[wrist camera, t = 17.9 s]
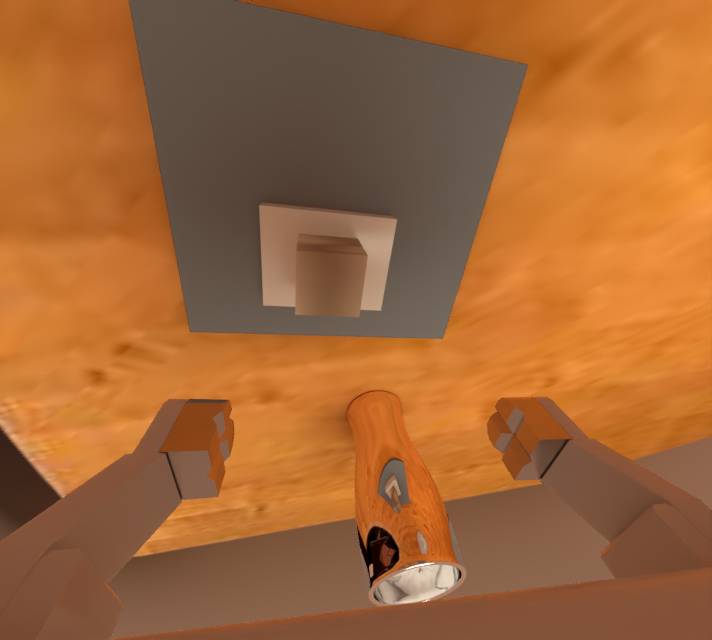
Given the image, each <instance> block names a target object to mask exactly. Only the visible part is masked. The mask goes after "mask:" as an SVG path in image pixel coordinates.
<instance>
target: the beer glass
mask: <svg viewBox="0 0 712 640" xmlns="http://www.w3.org/2000/svg"><path fill="white" fill-rule="evenodd" d="M347 419H348V422H349V425H350V427H351V430H352V432H353V436H354V440H355V448H356V463H355V515H356V525H357V532H358V539H359V545H360V551H361V556H362V562H363V567H364V571H365V576H366V581H367V586H368V592H369V599H370V600H371V602H373V603H374V604H376V605H378V606H390V605H398V604H407V603H415V602H423V601H431V600H436V599H438V598H440V597H442V596H445V595H446V594H448V593H450V592H452V591H453V590H455V589H456V588H457V587H458V586H460V585H461V584H462V583H463V581H464V580H465V578H466V570H465V568H464V565H463V563H462V559H461V556H460V552H459V549H458V545H457V542H456V539H455V535H454V532H453V529H452V526H451V523H450V520H449V517H448V514H447V511H446V509H445V506H444V503H443V500H442V498H441V496H440V493H439V491H438V488H437V486H436V484H435V482H434V480H433V478H432V476H431V474H430V472H429V471H428V469H427V467H426V465H425V464H424V462H423V460H422V458H421V457H420V455H419V453H418V452H417V450H416V448H415V446H414V445H413V443H412V441H411V439H410V437H409V435H408V433H407V431H406V428H405V425H404V419H403V410H402V405H401V402H400V400H399V399H398V398H397V397H396V396H395V395H393V394H391V393H389V392H385V391H373V392H368V393H365V394H363V395H361V396H359V397H358V398H356V399H355V400H354V401H353V402H352V403H351V405H350V406H349V408H348V411H347Z"/></svg>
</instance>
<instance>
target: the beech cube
mask: <svg viewBox="0 0 712 640" xmlns="http://www.w3.org/2000/svg"><path fill="white" fill-rule="evenodd" d="M367 259H368V255H367V253H366V252H365V250H364V248H363V246H362V245H361V243H360V241H359V239H357V238H346V237H334V236H323V235H311V234H300V233H299V236H298V242H297V249H296V294H295V315H312V316H338V317H359V316H360V309H361V302H362V295H363V287H364V280H365V273H366V266H367Z"/></svg>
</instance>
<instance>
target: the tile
mask: <svg viewBox="0 0 712 640" xmlns="http://www.w3.org/2000/svg"><path fill="white" fill-rule="evenodd" d="M259 213H260V238H261V263H262V288H263V305H264V306H286V307H295V294H296V249H297V242H298V236H299V233H300V234H311V235H323V236H334V237H346V238H357V239H359V241H360V243H361V245H362V246H363V248H364V250H365V252H366V253H367V255H368V259H367V266H366V273H365V280H364V287H363V295H362V302H361V309H360V310H377V311H381V307H382V301H383V296H384V290H385V285H386V279H387V274H388V268H389V262H390V257H391V251H392V246H393V240H394V235H395V229H396V223H397V219H396V218H395V217H393V216H392V215H384V214H375V213H365V212H356V211H346V210H337V209H327V208H317V207H308V206H298V205H289V204H279V203H270V202H262V203H261V204H260V205H259Z"/></svg>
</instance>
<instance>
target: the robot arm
mask: <svg viewBox="0 0 712 640" xmlns="http://www.w3.org/2000/svg"><path fill="white" fill-rule="evenodd" d="M495 408H496V410H497V412H496V413H494V414H493V415H492V416H490V419H489V421H488V423H487V431H488V435H489V438H490V441H491V442H492V444H493V446H494V447H495V448H496V449H498V450H499V451H500V452H502V461H503V462H504V464H505V466H506V467H507V469H508V471H509V472H510V474H511V476H512V477H513V479H514V480H541V481H540V482H542V483H543V484H544V485H545V486H546V487H548V488H549V489H550V490H551V491H552V492H553V493H554V494H555V495H557V496H558V497H559V498H560V499H561V500H562V501H564V502H565V503H566V504H567V505H568V506H569V507H570V508H571V509H573V510H574V511H575V512H576V513H577V514H578V515H579V516H581V517H582V518H583V519H584V520H585V521H586V522H587V523H589V524H590V525H591V526H592V527H593V528H594V529H595V530H597V531H598V532H599V533H600V534H601V535H602V536H604V537H605V538H606V539H607V540H608V541H609V542H610V544H609V545H608V546H607V547H606V548H604V549H603V550H602V551H601V558H602V560H603V561H604V563H605V564H606V565H607V567H608V568H609V570H610V571H611V573H612V574H613V576H614V577H615V579H607V580H597V581H589V582H581V583H573V584H564V585H556V586H548V587H539V588H531V589H524V590H515V591H506V592H498V593H490V594H481V595H473V596H465V597H457V598H448V599H440V600H431V601H423V602H415V603H407V604H398V605H390V606H382V607H373V608H366V609H357V610H349V611H340V612H332V613H324V614H316V615H307V616H299V617H290V618H282V619H274V620H266V621H257V622H249V623H241V624H232V625H225V626H216V627H207V628H199V629H191V630H183V631H175V632H167V633H158V634H149V635H141V636H134V637H124V638H117V639H110V638H111V636H112V633H113V631H114V628H115V626H116V624H117V621H118V619H119V616H120V614H121V611H122V609H123V608H122V605H121V602H120V600H119V599H118V598H117V596H116V595H115V594H114V593H113V592H112V590H111V589H110V587H109V586H108V585H107V584H108V583H109V582H110V581H111V580H112V578H113V577H114V576H115V575H116V574H117V573H118V572H119V571H120V570H121V569H122V567H123V566H124V565H125V564H126V563H127V562H128V561H129V560H130V559H131V558H132V556H133V555H134V554H135V553H136V552H137V551H138V550H139V549H140V548H141V547H142V545H143V544H144V543H145V542H146V541H147V540H148V539H149V538H150V537H151V535H152V534H153V533H154V532H155V531H156V530H157V529H158V528H159V527H160V525H161V524H162V523H163V522H164V521H165V520H166V519H167V518H168V517H169V516H170V514H171V513H172V512H173V511H174V510H175V509H176V508H177V507H178V506H179V504H180V503H181V502H182V501H181V500H186V499H198V498H210V497H218V495H219V492H220V488H221V485H222V482H223V478H224V475H225V466H224V461H225V460H226V459H227V458H228V457H229V456H230V454H231V450H232V447H233V440H234V421H233V420H232V419H231V418H229V417H230V414H231V411H232V408H231V403H230V401H229V400H210V399H189V400H187V399H169V400H168V401H166V402H165V403H164V404H163V405H162V407H161V409H160V410H159V412H158V414H157V415H156V417H155V418H154V420H153V422H152V423H151V425H150V426H149V428H148V430H147V431H146V433H145V435H144V436H143V438H142V439H141V441H140V443H139V444H138V446H137V447H136V449H135V451H134V452H133V454H125V455H124V456H122V457H121V458H120V459H118V460H117V461H115V462H114V463H112V464H111V465H110V466H108V467H107V468H105V469H104V470H102V471H101V472H100V473H98V474H97V475H95V476H94V477H92V478H91V479H89V480H88V481H87V482H85V483H84V484H82V485H81V486H79V487H78V488H77V489H75V490H74V491H72V492H71V493H69V494H68V495H66V496H65V497H64V498H62V499H61V500H59V501H58V502H56V503H55V504H54V505H52V506H51V507H49V508H48V509H46V510H45V511H44V512H42V513H41V514H39V515H38V516H36V517H35V518H34V519H32V520H31V521H29V522H28V523H26V524H25V525H23V526H22V527H21V528H19V529H18V530H17V531H15V532H13V533H12V534H11V535H9V536H8V537H6V538H5V539H3V540H2V541H0V640H712V510H711V509H710V508H709V507H708V506H707V505H705V504H704V503H703V502H702V501H701V500H700V499H698V498H696V497H694V496H693V495H691V494H689V493H687V492H685V491H684V490H682V489H680V488H679V487H677V486H675V485H673V484H671V483H670V482H668V481H666V480H665V479H663V478H661V477H659V476H658V475H656V474H654V473H652V472H651V471H649V470H647V469H645V468H644V467H642V466H640V465H638V464H637V463H635V462H633V461H631V460H630V459H628V458H626V457H624V456H623V455H621V454H619V453H617V452H616V451H614V450H612V449H610V448H609V447H607V446H605V445H603V444H602V443H600V442H598V441H596V440H595V439H589V438H588V437H587V436H586V435H585V434H584V433H583V432H582V431H581V430H580V429H579V428H578V427H577V426H576V424H575V423H574V422H573V421H572V420H571V419H570V418H569V417H568V416H567V415H566V414H565V413H564V412H563V411H562V410H561V409H560V408H559V407H558V406H557V405H556V404H555V403H554V402H553V401H552V400H551V399H549V398H547V397H531V398H530V397H514V398H501V399H500V400H498V402H497V404H496V406H495Z"/></svg>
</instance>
